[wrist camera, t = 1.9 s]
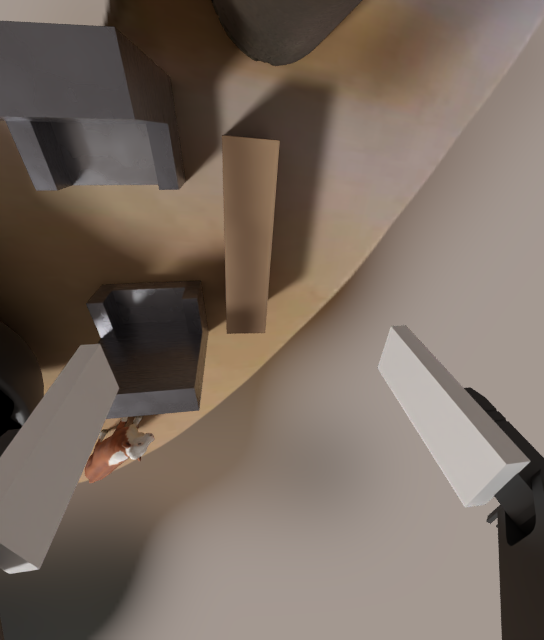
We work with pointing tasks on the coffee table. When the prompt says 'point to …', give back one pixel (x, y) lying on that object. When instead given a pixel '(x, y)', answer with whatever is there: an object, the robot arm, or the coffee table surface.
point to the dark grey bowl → (17, 381)
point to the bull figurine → (117, 449)
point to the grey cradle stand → (109, 169)
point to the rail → (248, 228)
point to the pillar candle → (280, 26)
